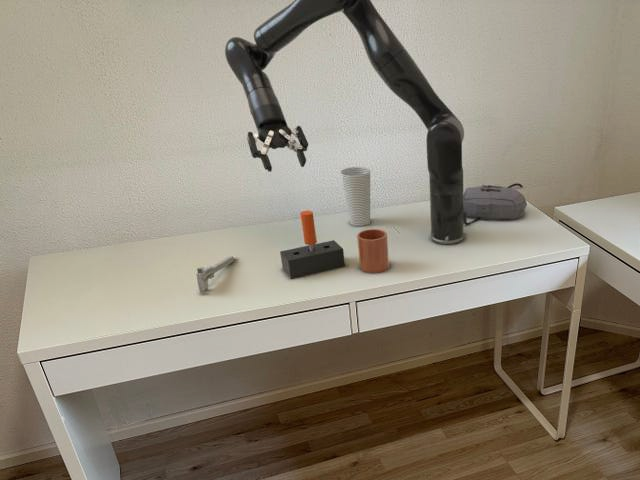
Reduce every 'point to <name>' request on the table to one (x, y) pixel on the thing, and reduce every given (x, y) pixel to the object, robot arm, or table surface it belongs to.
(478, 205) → the soft grey pack
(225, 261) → the caliper
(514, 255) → the table surface
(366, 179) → the cup
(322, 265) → the holder
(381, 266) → the pen cup
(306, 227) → the orange screwdriver
